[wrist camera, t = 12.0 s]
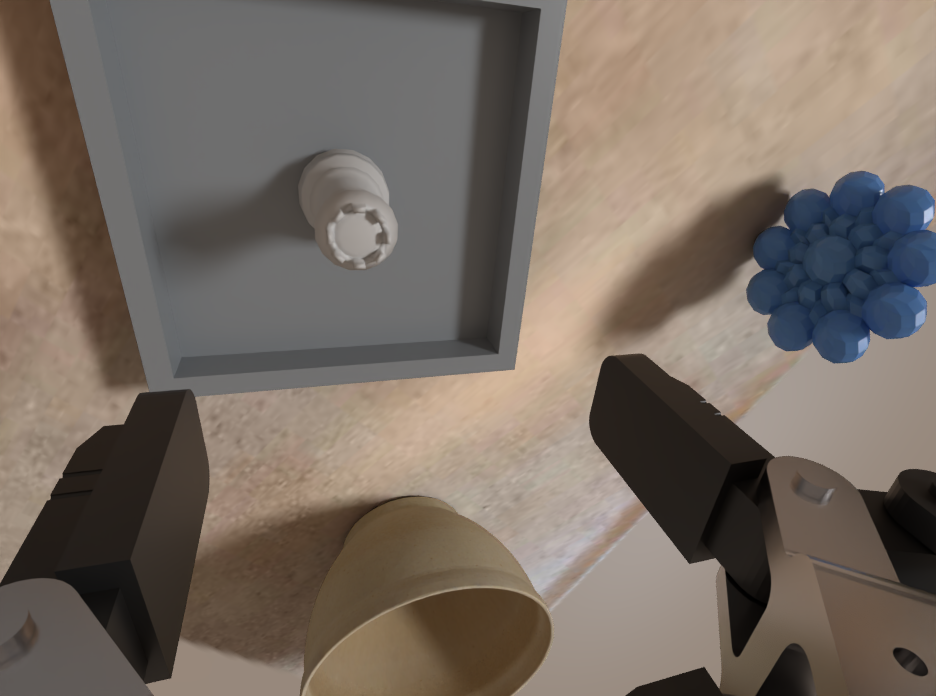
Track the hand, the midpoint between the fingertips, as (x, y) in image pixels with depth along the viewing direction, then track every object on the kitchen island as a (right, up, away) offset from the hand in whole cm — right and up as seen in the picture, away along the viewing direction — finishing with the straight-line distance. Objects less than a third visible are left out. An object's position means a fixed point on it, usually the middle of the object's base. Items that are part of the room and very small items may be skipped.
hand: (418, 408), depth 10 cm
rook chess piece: (-5, +9, +16) cm, 19 cm away
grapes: (+23, +9, +27) cm, 36 cm away
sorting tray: (-6, +9, +17) cm, 20 cm away
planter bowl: (-4, -14, +31) cm, 34 cm away
